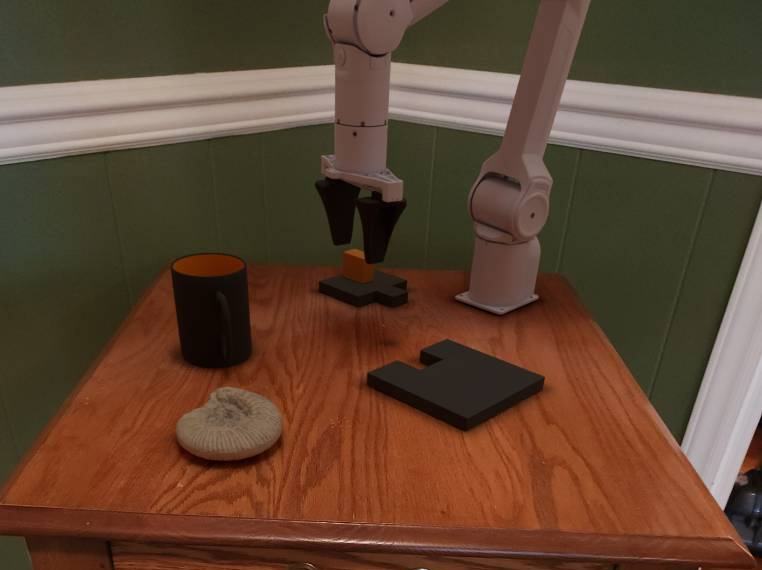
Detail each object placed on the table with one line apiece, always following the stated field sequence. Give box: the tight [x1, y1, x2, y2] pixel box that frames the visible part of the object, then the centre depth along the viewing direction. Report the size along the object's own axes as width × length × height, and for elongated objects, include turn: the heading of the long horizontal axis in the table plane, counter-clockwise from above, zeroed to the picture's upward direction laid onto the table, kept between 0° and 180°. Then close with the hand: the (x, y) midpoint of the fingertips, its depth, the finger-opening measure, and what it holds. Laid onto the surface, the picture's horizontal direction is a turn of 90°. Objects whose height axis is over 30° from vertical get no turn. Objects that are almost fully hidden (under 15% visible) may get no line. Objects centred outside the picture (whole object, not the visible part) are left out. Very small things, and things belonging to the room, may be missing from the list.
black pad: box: [318, 248, 409, 308], centre depth 102 cm, size 10×11×5 cm
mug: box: [169, 252, 253, 369], centre depth 82 cm, size 8×12×10 cm
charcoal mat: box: [366, 338, 546, 432], centre depth 81 cm, size 14×14×2 cm
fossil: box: [175, 386, 283, 462], centre depth 70 cm, size 11×4×10 cm
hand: (357, 253), depth 86 cm, fingers open, 7 cm apart
